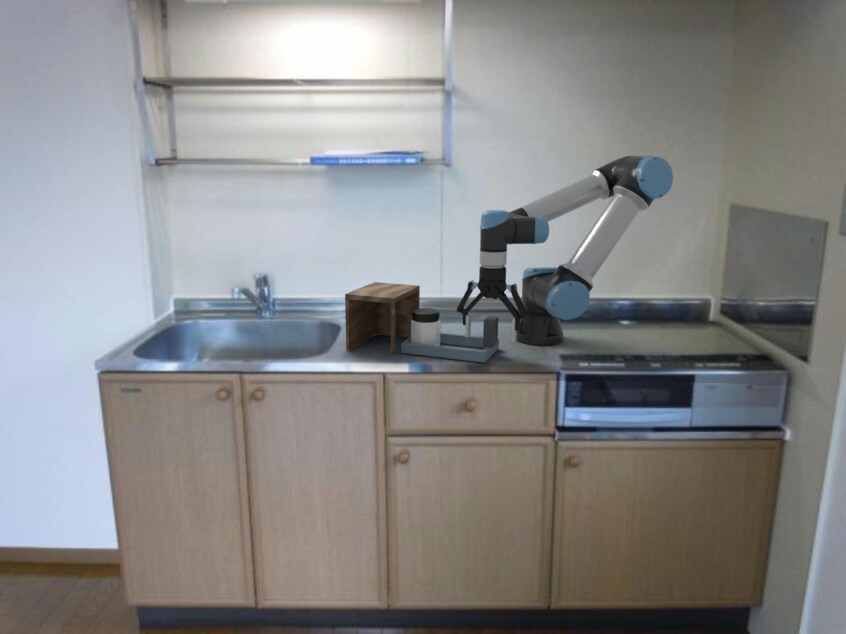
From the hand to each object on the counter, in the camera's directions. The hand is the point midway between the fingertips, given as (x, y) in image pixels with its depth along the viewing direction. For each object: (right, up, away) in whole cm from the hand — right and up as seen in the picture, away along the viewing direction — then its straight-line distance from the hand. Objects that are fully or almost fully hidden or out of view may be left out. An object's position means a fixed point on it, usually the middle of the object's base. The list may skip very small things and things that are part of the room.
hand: (490, 338), depth 194 cm
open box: (-31, -2, +13) cm, 33 cm away
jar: (-19, -4, +7) cm, 20 cm away
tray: (-11, -4, +5) cm, 13 cm away
